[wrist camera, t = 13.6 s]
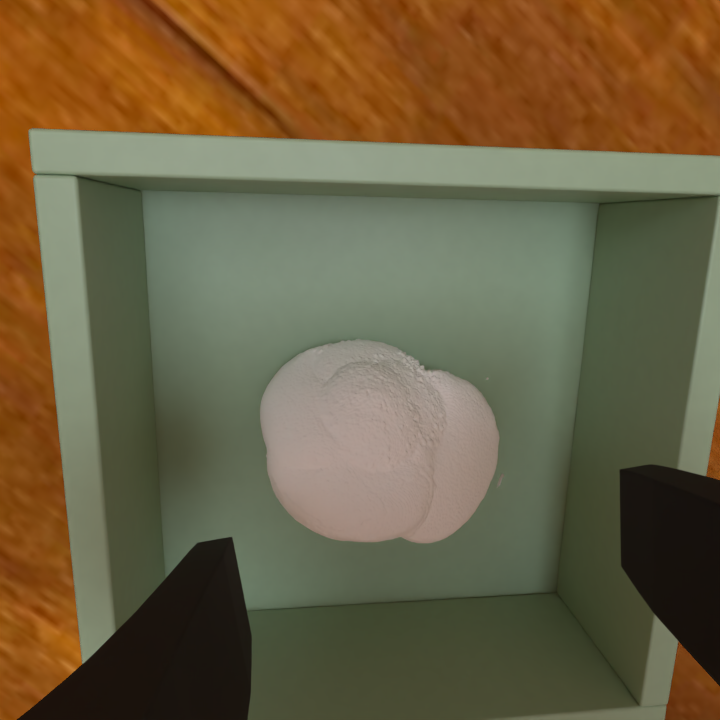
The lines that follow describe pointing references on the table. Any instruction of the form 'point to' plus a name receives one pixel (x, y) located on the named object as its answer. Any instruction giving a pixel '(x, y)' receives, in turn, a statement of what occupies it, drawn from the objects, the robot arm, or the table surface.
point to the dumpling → (376, 444)
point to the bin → (433, 350)
